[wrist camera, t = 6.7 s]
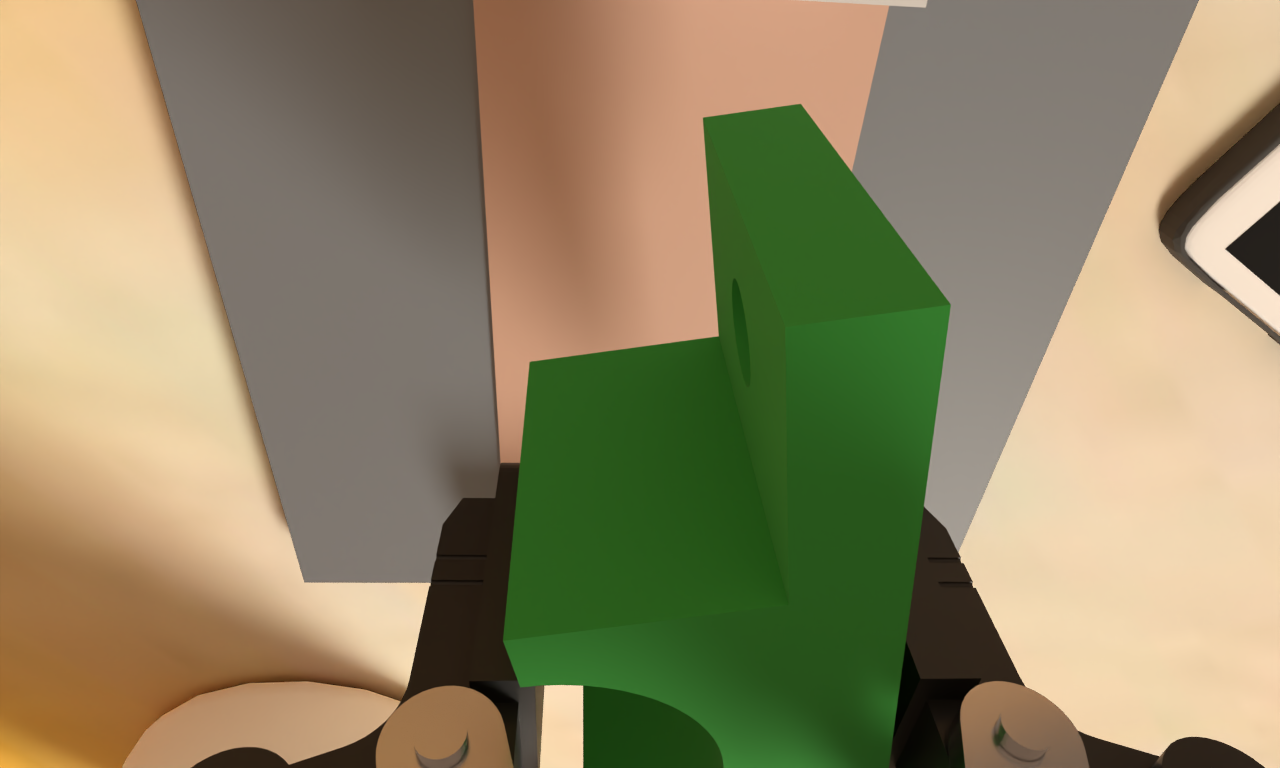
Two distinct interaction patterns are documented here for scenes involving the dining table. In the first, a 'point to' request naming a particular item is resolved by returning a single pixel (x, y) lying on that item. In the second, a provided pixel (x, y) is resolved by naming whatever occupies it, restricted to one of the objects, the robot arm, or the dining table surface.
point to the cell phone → (1235, 225)
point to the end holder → (608, 208)
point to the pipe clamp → (740, 485)
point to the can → (262, 723)
